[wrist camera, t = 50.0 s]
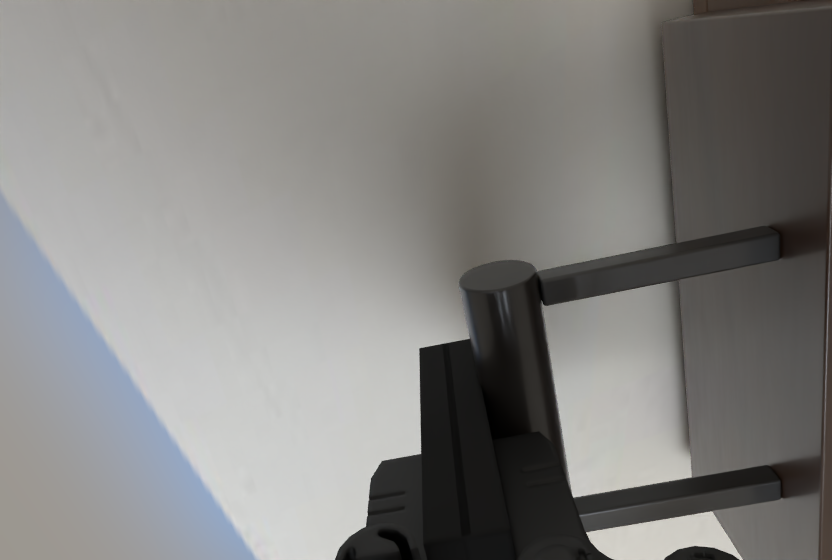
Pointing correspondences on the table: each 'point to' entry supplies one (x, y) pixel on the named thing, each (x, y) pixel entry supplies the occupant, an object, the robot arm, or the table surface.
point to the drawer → (713, 288)
